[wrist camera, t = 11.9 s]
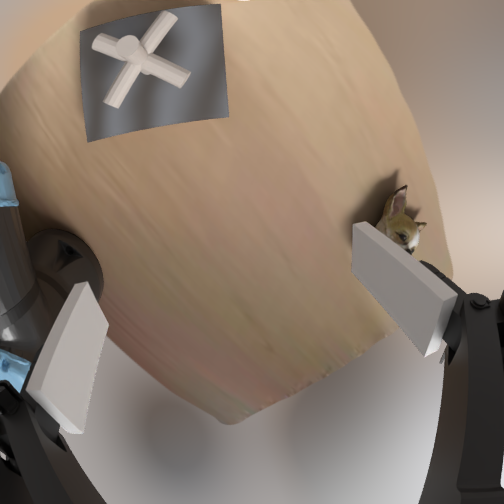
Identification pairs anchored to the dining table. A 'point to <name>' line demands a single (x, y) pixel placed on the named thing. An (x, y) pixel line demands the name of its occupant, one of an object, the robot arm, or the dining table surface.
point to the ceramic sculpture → (400, 222)
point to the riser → (149, 86)
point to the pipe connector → (140, 58)
